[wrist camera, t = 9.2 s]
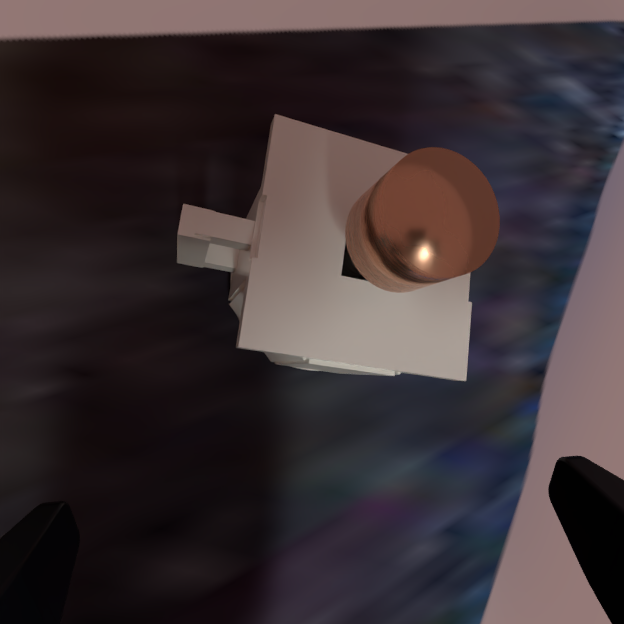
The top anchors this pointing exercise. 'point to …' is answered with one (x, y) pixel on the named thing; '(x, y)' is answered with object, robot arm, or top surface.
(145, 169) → the top surface
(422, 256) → the plunger
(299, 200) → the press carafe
